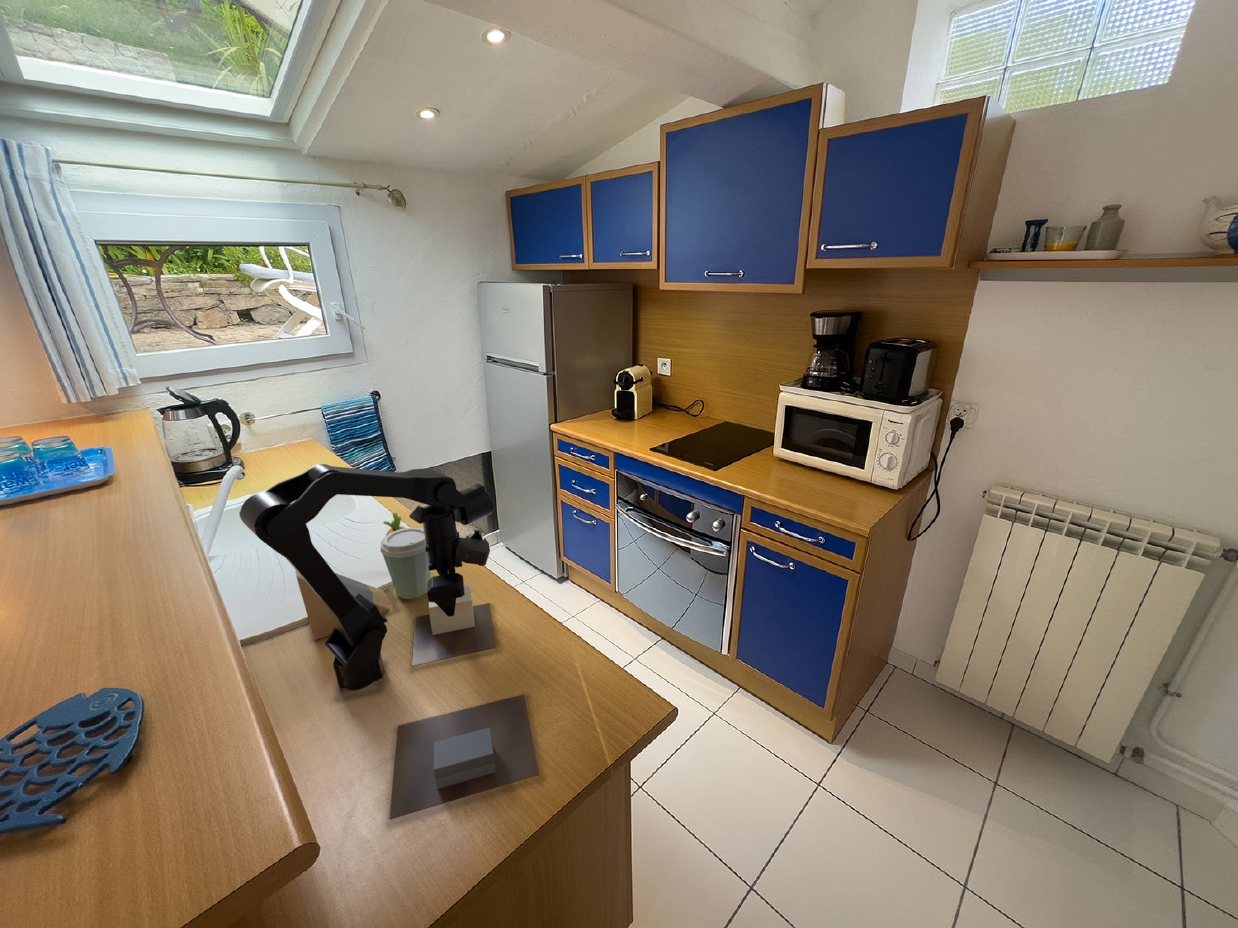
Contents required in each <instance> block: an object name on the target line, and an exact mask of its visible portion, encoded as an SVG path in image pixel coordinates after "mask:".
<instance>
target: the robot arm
mask: <svg viewBox="0 0 1238 928" xmlns="http://www.w3.org/2000/svg"><path fill="white" fill-rule="evenodd" d="M336 496H359V497H375V498H377V497H379V498H398V499H406V500H410V501H414V502H415V503H416V502H417V503H420V504H423V505H426V506H421V505H420V504H418V505H417V506H416V508H414V510H412V511H411V513H410V514H409V516H408V517H409V519H411V520H412V521H414V522H416V523H418V524H420V525H422V528H423V529H424V534H425V541H426V543H425V549H426V552H427V553H428V559H429V561H428V567H429V571H430V572H431V571H436V572H437V574H438V575H435V576H431V577H430V580H429V581H428V585H427V592H426V594H427V600H428V603H429V602H434V603H436V604H437V605H438V606H439V607H440V608H441V609H442V611H443V612H444V613H445V614H446V615H447V616H448V617H451V616H454V612H455V605H456V598H459V597H462V596H464V595H465V591H464V585H465V583H464V576H463V574H461V573H459V572H456V569H457V568H462V567H463V566H464V565H463V563H464V564H471V565H478V566H479V567H485V566H486V565H487V563H488V559H489V555H490V552H491V548H490V542H489V541H488V540H487V538H483V535H482V530H479V529H473V530H472V531H471V532H470V533H469V534H468V535H465V537H461V536H460V532H459V531H458V530H457V523H460V524H461V525H463V526H467V525H470V524H472V523H475V522H476V521H479V520H481V519H483V518H486V517H488V516H490V515H492V514H493V511H494V503H493V501H492V500H491V497H490V495H489V494H488V493H487V492H486V487H485V485H482V484H481V483H476V484H473V485H471V486H470V487H468V488H465V489H461V490H459V489H457V485H456V481H455V479H454V478H453V477H451V476H449V475H446V474H444V473H442V472H441V471H438V470H436V469H434V468H430V467H426V468H423V467H422V468H412V469H410V470H407V471H406V470H405V471H398V472H397V471H387V470H386V471H385V470H376V469H366V468H365V469H364V468H356V467H355V468H354V467H343V466H335V465H329V464H327V463H318V464H315V465H313V466H311V467H309V468H307V470H305V471H303V472H302V473H299V474H297V475H295V476H293V477H291V478H287V479H285V480H283V481H280V482H278V483H276V484H274V485H273V486H272V487H270V488H269V489H267V490H266V491H262V492H257V493H255V494H253V495H251V496H250V497H248V498H247V499H245V501H244V502H243V504H242V505H241V507H240V511H239V518H240V520H241V522H242V523H243V524H244V525H245V526H246V527H247V528H248V529H249V530H250V531H251V532H252V533H253V534H254V535H255V536H256V537H257V538H258V539H259V540H260V541H261V542H263V543H264V544H265V545H267V546H268V547H270V548H271V549H272V550H273V551H275V552H276V553H277V554H279V555H281V556H282V557H283V558H284V559H286V560H287V562H288V563H289V564H290V565H291V566H292V567H293V569H294V570H295V569H296V570H295V572H296V571H297V572H298V573H299V574H300V575H301V577H302V578H303V579H304V580H305V581H306V583H307V584H308V585H309V586H310V587H311V588H312V590H313V591H314V592H315V593H316V594H317V596H318V597H319V598H320V599H321V600H322V601H323V603H324V604H325V605H326V606H327V607H328V609H329V611H330V616H331V619H332V621H333V623H334V626H335V628H334V629H333V631H332V632H331V634H330V635H329V636H327V639H326V640H325V642H324V646H325V647H326V648H327V649H328V650H329V651H330V652H331V654H332V655H333V656H334V659H333V662H332V666H333V670H334V673H335V677H336V682H337V685H338V689H340V690H341V689H345V690H348V691H360V690H363V689H365V688H366V687H369V686H370V685H372V683H374V682H378V681H379V680H381V679H384V671H385V666H384V665H385V664H384V662H383V656H382V653H381V651H382V646H383V643H384V639H385V638H386V634H387V633H388V627H387V624H386V623H388V621H389V620H388V619H387V618H386V617H385V616H384V615H383V614H382V613H380V612H379V610H378V608H377V606H376V605H375V604H374V603H372V602H371V601H370V600H369V599H368V598H367V597H366V596H364V595H363V594H362V593H361V592H360V593H359V594H358V595H357V596H356V597H355V598H354V597H353V596H352V595H351V593H350V592H349V591H348V589H347V588H346V587H345V586H344V584H343V583H342V582H341V580H340V579H339V578H338V577H337V575H336V574H335V573H336V572H334V571H335V570H333V569H332V567H331V566H330V565H329V564H328V562H327V561H326V560H325V558H324V557H323V556H322V554H321V553H320V552H319V551H318V550H317V548H316V547H315V545H314V544H313V541H312V538H311V533H310V530H309V527H308V525H307V524H308V523H309V522H311V521H312V520H314V519H315V518H316V517H317V516H318V515H319V513H321V511H322V510H323V509H324V507H325V506H326V505H327V503H328V502H329V501H330V500H331V499H334V497H336Z"/></svg>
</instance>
